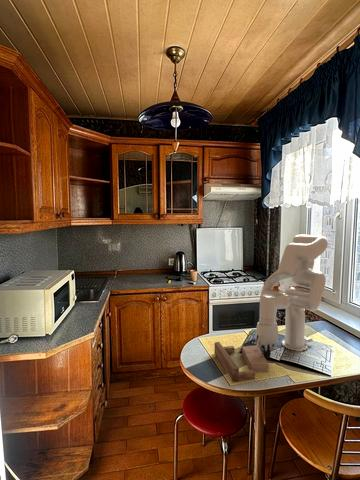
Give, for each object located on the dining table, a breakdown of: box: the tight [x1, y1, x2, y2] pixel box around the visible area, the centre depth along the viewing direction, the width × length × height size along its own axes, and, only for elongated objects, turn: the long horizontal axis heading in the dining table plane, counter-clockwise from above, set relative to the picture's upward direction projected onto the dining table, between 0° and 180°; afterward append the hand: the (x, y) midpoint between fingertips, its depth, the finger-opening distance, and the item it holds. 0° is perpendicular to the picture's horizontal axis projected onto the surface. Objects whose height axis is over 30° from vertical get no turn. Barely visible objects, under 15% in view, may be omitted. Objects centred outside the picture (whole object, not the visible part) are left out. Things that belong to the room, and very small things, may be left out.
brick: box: [241, 345, 270, 374], centre depth 127 cm, size 17×8×5 cm, turn 1°
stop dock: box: [214, 341, 256, 383], centre depth 125 cm, size 10×24×6 cm, turn 12°
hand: (266, 357), depth 129 cm, fingers closed
